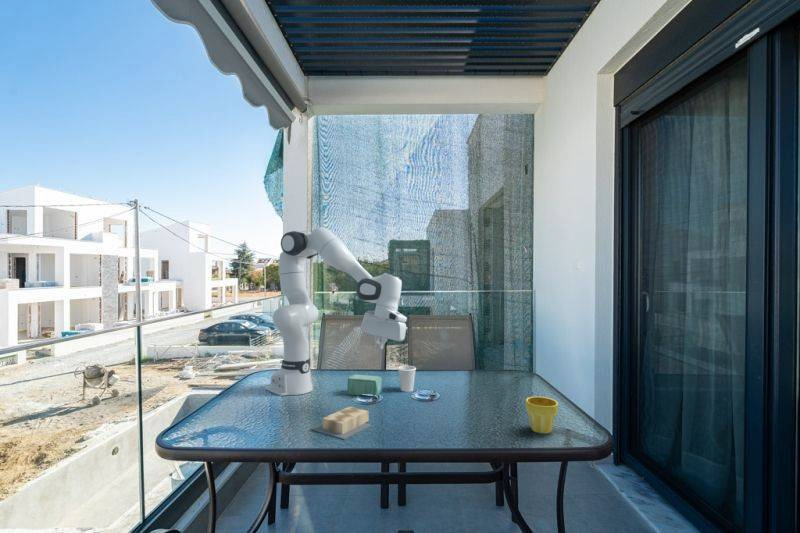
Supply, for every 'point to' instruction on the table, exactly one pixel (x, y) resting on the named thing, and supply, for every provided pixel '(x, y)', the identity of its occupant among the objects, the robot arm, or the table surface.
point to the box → (364, 385)
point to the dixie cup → (406, 377)
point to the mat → (342, 436)
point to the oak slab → (345, 420)
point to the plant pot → (541, 413)
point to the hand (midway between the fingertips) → (378, 348)
